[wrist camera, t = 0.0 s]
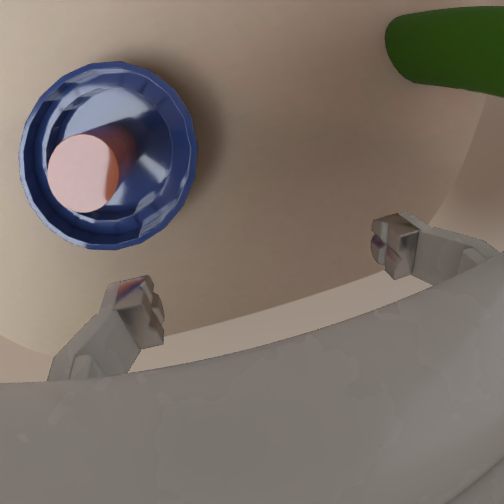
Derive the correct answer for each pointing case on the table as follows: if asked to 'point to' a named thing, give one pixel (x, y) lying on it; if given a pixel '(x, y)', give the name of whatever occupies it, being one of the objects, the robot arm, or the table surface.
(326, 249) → the table surface
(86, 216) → the bowl
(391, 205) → the table surface
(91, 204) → the terracotta cylinder
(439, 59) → the wine bottle
